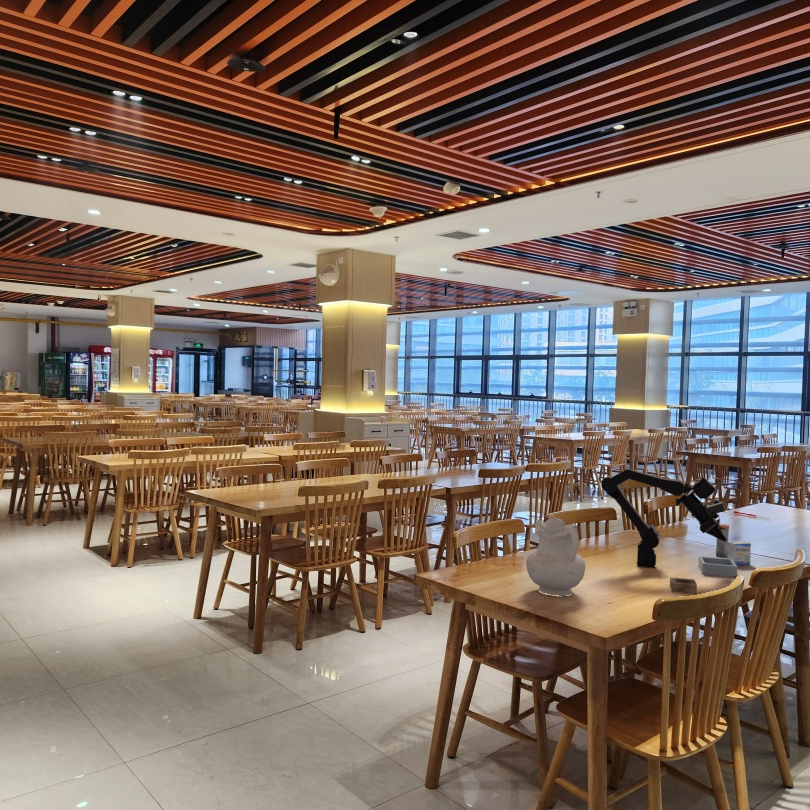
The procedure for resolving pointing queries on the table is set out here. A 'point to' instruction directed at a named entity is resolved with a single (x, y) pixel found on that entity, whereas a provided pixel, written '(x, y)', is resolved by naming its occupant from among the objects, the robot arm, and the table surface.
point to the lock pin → (722, 542)
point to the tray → (717, 566)
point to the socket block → (683, 585)
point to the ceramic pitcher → (556, 558)
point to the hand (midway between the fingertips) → (726, 539)
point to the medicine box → (739, 552)
